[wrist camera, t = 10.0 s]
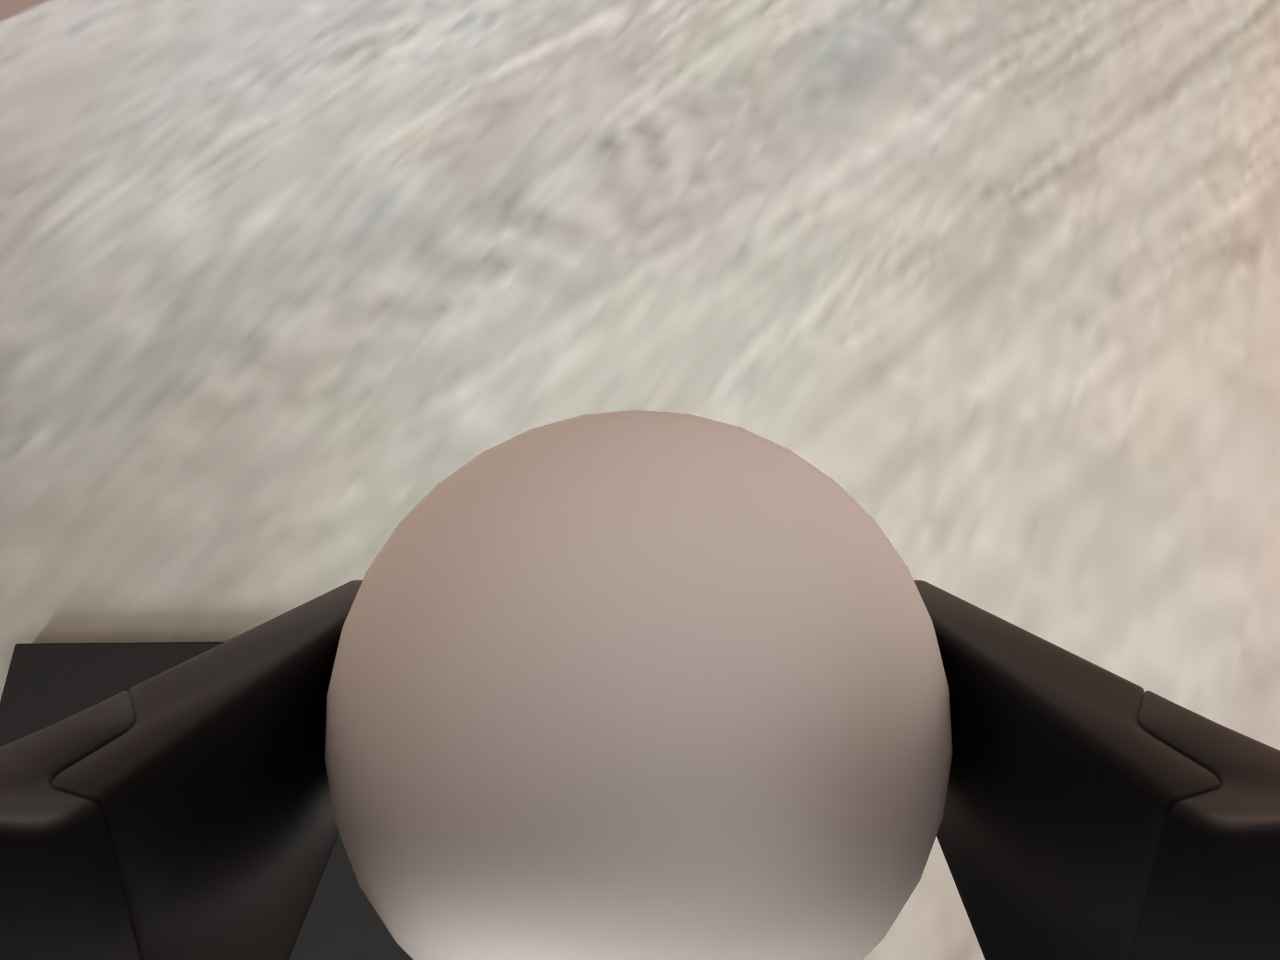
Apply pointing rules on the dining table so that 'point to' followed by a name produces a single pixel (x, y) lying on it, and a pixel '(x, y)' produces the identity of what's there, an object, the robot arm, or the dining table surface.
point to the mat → (92, 672)
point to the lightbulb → (638, 706)
